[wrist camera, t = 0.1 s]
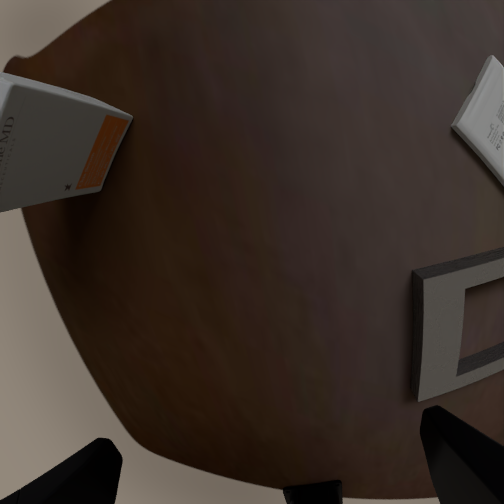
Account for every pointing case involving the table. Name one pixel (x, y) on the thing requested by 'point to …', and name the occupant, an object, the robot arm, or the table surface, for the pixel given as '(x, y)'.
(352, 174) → the table surface
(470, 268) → the grey flat frame
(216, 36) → the table surface
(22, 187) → the skincare box
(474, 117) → the external hard drive
